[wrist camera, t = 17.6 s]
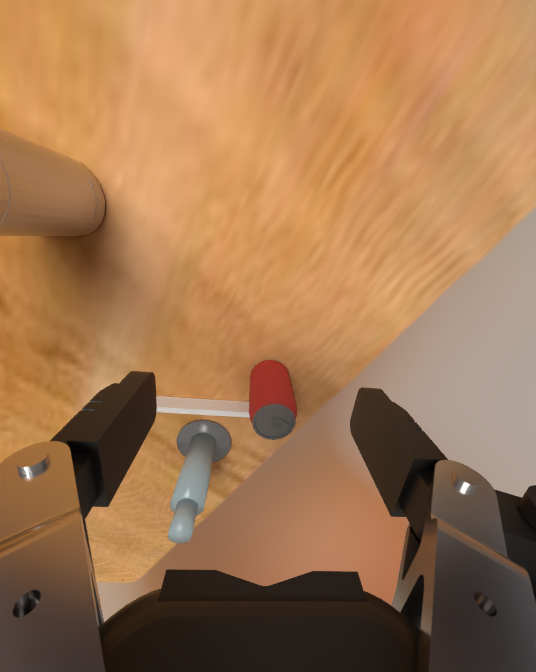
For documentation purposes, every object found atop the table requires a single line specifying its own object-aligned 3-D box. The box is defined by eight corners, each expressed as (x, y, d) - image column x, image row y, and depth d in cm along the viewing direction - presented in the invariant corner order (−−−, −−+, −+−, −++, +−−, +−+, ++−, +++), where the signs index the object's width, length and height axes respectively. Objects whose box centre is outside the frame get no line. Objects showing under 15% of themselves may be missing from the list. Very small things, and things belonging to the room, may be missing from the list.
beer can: (280, 396, 46) (288, 448, 35) (245, 386, 45) (241, 436, 34) (294, 364, 44) (307, 409, 33) (257, 353, 43) (257, 395, 31)
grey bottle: (190, 452, 49) (161, 547, 34) (190, 432, 47) (159, 523, 32) (215, 453, 49) (198, 548, 34) (216, 433, 48) (198, 523, 33)
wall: (146, 400, 45) (139, 411, 42) (146, 395, 45) (139, 406, 42) (272, 407, 47) (273, 418, 44) (273, 403, 46) (274, 414, 44)
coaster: (177, 460, 50) (177, 462, 50) (176, 418, 47) (176, 419, 46) (229, 462, 51) (229, 464, 51) (232, 421, 47) (232, 422, 47)
